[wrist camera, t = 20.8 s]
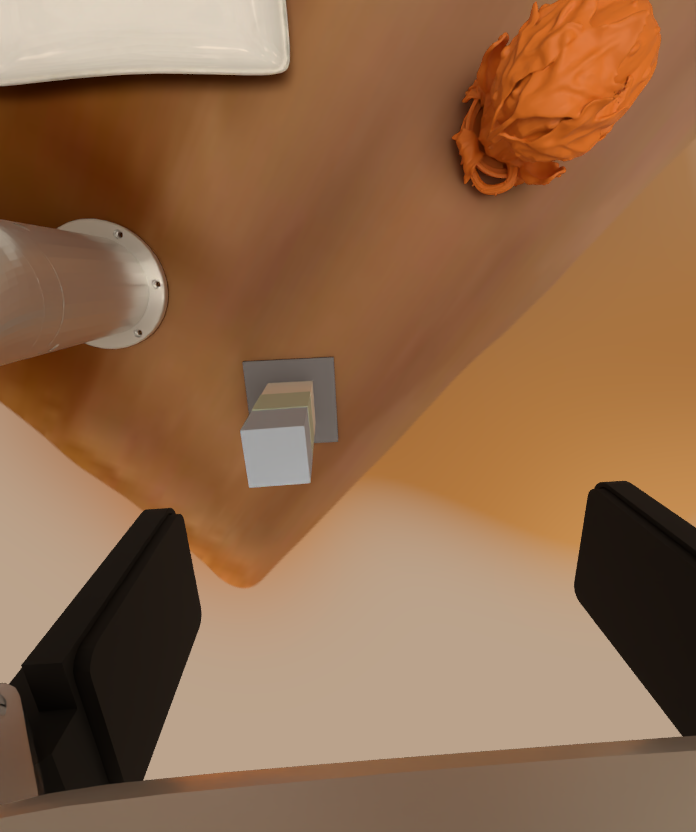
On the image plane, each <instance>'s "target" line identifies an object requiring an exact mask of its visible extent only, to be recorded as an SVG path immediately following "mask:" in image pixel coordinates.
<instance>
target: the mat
mask: <svg viewBox="0 0 696 832" xmlns="http://www.w3.org/2000/svg"><path fill="white" fill-rule="evenodd" d="M243 370H244V378H245V386H246V394H247V402H248V410H249V414H250V413H251V411H252V408H253V407H254V405H255V403H256V402H257V400H258V398H259V396H260V395H261V394H262V393H263V391H264V389H265V387H266V385H267V384H268V383H280V382H299V381H313V393H314V407H315V421H316V424H315V435H314V443H322V442H338V429H337V411H336V393H335V374H334V357H320V358H301V359H281V360H261V361H243Z"/></svg>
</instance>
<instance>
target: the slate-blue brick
mask: <svg viewBox="0 0 696 832" xmlns="http://www.w3.org/2000/svg"><path fill="white" fill-rule="evenodd" d="M240 433H241V439H242V445H243V452H244V458H245V464H246V471H247V477H248V483H249V488H253V487H266V486H279V485H291V484H304V483H310V480H311V469H312V448H311V438H310V428H309V418H308V408H307V407H299V408H286V409H273V410H260V411H251V413H250V414H249V416H248V418H247V420H246V421H245V423H244V425H243V427H242V428H241V430H240Z"/></svg>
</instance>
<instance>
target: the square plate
mask: <svg viewBox="0 0 696 832" xmlns="http://www.w3.org/2000/svg"><path fill="white" fill-rule="evenodd" d="M289 63H290V43H289V30H288V17H287V7H286V0H0V86H11V85H21V84H30V83H38V82H47V81H56V80H65V79H75V78H86V77H99V76H111V75H127V74H220V75H272V74H279V73H282V72H284V71H286V70H287V69H288V67H289Z"/></svg>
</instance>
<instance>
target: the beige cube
mask: <svg viewBox="0 0 696 832" xmlns="http://www.w3.org/2000/svg"><path fill="white" fill-rule="evenodd" d="M309 391H310V395H311V406H312V418H313V429H314V435H315V424H316V421H315V407H314V393H313V381H299V382H280V383H268V384H267V385H266V387H265V389H264V391H263V393H262V394H261V395H263V394H278V393H293V392H309Z"/></svg>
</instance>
